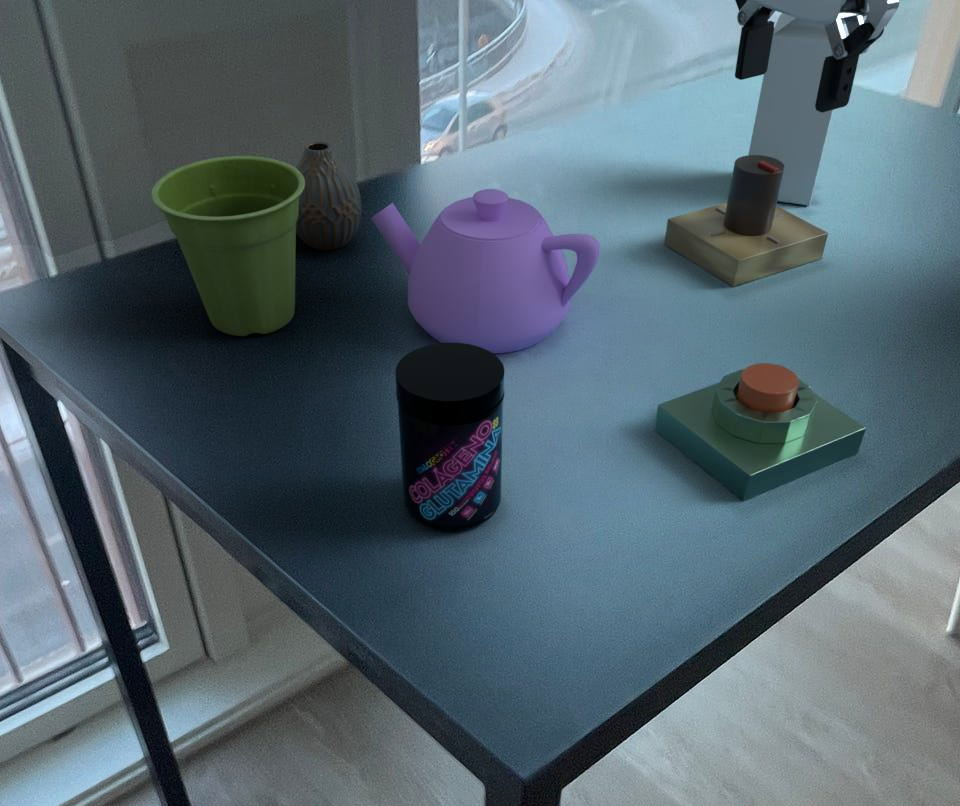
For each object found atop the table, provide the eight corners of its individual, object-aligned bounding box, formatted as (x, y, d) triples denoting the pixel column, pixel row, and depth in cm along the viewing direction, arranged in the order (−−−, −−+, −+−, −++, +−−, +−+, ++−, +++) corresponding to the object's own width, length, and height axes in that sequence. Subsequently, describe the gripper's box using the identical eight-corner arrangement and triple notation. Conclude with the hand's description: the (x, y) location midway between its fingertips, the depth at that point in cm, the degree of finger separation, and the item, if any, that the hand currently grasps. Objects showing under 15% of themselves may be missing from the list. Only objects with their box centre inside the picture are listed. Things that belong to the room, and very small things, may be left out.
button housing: (764, 388, 79) (775, 342, 77) (858, 452, 74) (873, 405, 71) (654, 429, 75) (661, 382, 73) (743, 501, 70) (755, 453, 67)
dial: (713, 221, 95) (725, 157, 90) (749, 211, 96) (762, 147, 92) (745, 239, 92) (758, 174, 88) (781, 228, 94) (795, 164, 89)
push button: (766, 378, 74) (771, 357, 73) (805, 404, 72) (811, 383, 70) (724, 394, 72) (729, 372, 71) (763, 421, 70) (768, 399, 69)
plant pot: (209, 280, 91) (184, 150, 83) (336, 291, 90) (322, 160, 82) (159, 346, 83) (125, 210, 75) (297, 360, 82) (278, 223, 74)
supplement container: (386, 521, 68) (375, 386, 60) (428, 466, 72) (423, 333, 65) (478, 547, 66) (479, 411, 59) (515, 488, 70) (521, 355, 63)
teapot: (411, 261, 94) (406, 142, 86) (615, 304, 89) (629, 181, 81) (339, 330, 85) (326, 204, 78) (561, 382, 80) (571, 252, 72)
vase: (302, 262, 94) (290, 165, 87) (284, 232, 98) (271, 137, 92) (373, 250, 96) (366, 154, 89) (352, 221, 100) (343, 127, 94)
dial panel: (750, 219, 101) (755, 192, 99) (822, 258, 95) (829, 231, 93) (663, 244, 97) (667, 216, 95) (733, 287, 91) (738, 258, 89)
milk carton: (739, 198, 104) (780, -15, 91) (749, 172, 109) (789, -34, 95) (809, 207, 103) (861, -8, 89) (816, 180, 108) (866, -28, 94)
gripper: (968, -155, 69) (899, 112, 81) (791, -184, 80) (753, 57, 92) (890, -143, 66) (831, 132, 79) (717, -174, 77) (689, 73, 89)
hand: (789, 91), depth 85 cm, fingers open, 9 cm apart
